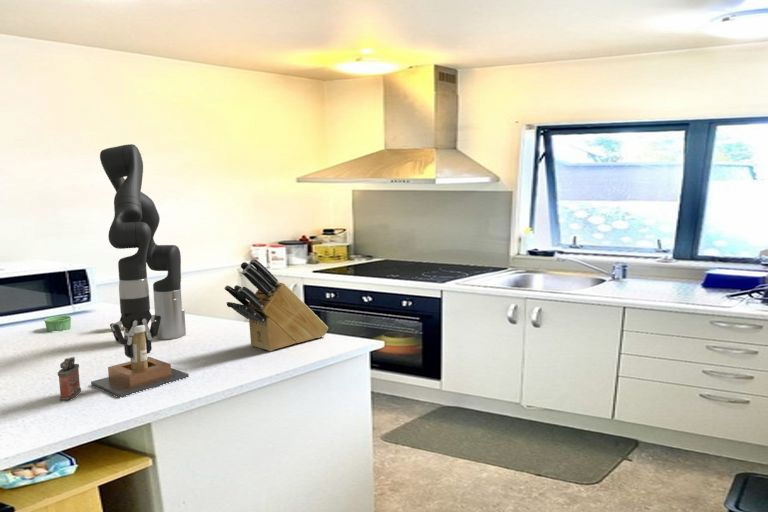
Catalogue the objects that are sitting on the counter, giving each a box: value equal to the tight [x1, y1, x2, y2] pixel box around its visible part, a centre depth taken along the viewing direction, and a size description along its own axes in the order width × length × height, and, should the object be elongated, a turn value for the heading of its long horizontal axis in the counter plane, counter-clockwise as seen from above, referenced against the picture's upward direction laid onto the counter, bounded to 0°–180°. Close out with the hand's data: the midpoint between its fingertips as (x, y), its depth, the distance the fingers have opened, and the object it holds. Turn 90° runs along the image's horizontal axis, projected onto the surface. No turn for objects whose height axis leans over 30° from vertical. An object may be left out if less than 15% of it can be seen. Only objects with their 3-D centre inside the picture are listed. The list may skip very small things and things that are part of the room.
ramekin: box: [44, 315, 72, 332], centre depth 221 cm, size 9×9×4 cm
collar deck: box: [90, 356, 189, 399], centre depth 161 cm, size 20×16×4 cm
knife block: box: [223, 258, 329, 352], centre depth 195 cm, size 11×35×31 cm, turn 136°
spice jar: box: [128, 325, 148, 371], centre depth 160 cm, size 5×5×14 cm
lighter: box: [57, 357, 82, 402], centre depth 150 cm, size 8×3×10 cm, turn 5°
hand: (138, 354), depth 161 cm, fingers closed on spice jar, 4 cm apart
